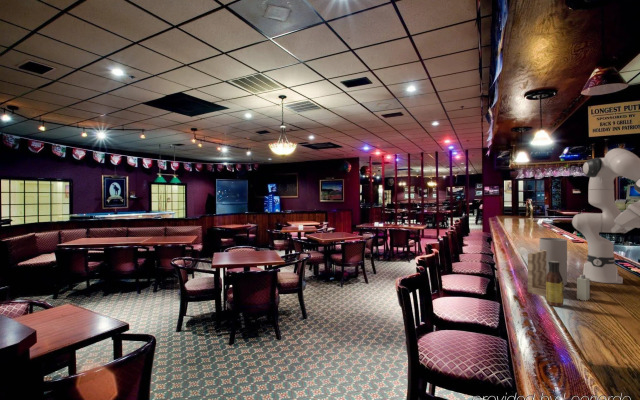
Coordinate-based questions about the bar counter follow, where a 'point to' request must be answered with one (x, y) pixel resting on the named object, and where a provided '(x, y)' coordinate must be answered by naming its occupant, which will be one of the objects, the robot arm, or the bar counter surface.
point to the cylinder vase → (556, 254)
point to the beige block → (583, 288)
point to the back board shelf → (537, 272)
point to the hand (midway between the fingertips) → (617, 231)
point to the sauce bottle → (554, 285)
